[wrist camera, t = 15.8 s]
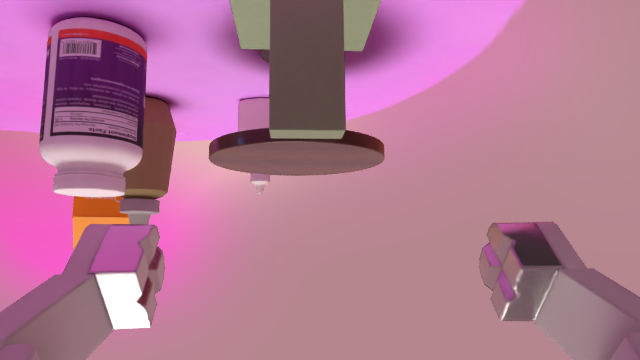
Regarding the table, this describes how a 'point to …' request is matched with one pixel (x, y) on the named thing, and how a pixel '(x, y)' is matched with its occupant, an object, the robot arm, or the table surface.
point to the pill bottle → (93, 105)
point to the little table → (294, 152)
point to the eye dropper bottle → (254, 117)
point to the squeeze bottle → (150, 164)
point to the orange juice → (95, 213)
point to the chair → (305, 58)
